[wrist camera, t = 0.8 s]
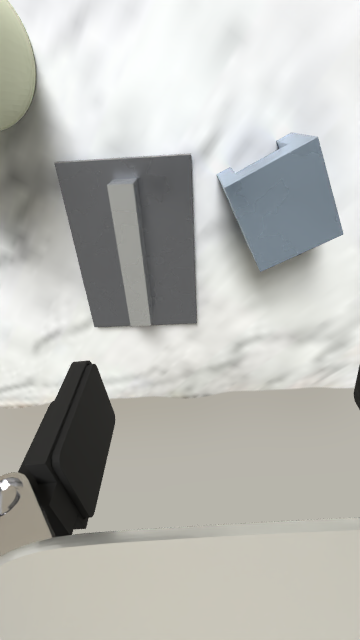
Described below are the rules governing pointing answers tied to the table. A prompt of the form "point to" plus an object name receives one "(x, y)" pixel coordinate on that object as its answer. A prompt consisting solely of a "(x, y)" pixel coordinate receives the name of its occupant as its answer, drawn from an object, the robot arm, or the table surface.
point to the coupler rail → (158, 234)
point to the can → (14, 67)
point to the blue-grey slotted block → (284, 201)
